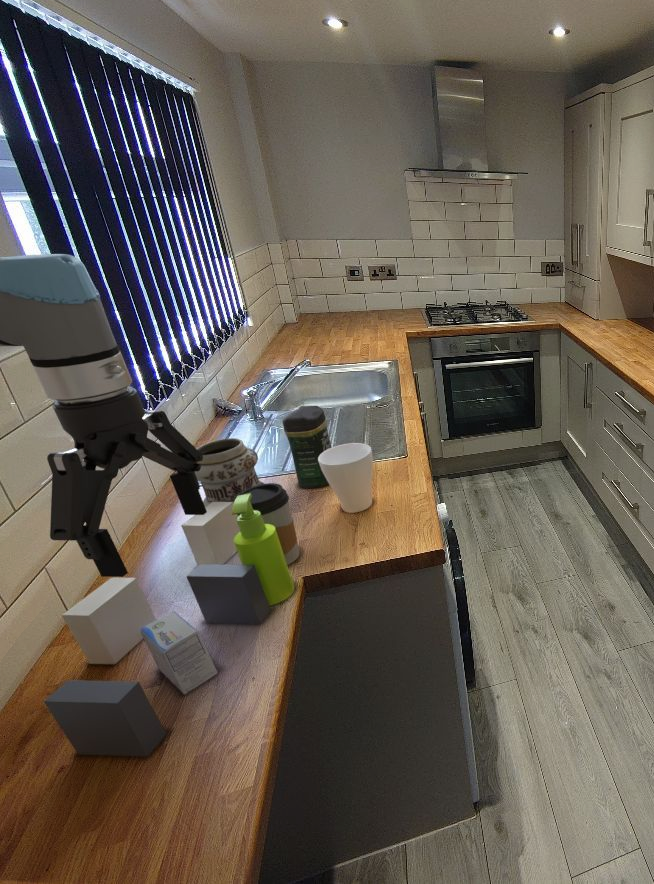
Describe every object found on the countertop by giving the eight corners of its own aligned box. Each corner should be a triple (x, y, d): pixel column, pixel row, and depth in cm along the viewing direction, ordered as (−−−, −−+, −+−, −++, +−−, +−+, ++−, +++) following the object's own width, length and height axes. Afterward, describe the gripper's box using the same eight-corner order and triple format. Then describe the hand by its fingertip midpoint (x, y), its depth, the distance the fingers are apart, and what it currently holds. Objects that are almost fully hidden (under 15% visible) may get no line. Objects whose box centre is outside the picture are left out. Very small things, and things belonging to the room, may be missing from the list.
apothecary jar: (243, 503, 119) (218, 431, 112) (289, 509, 117) (267, 435, 109) (196, 534, 108) (165, 457, 101) (246, 541, 106) (217, 462, 98)
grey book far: (206, 625, 85) (185, 576, 81) (219, 611, 88) (200, 563, 84) (260, 626, 85) (242, 577, 81) (271, 612, 88) (254, 564, 83)
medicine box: (219, 675, 76) (200, 630, 72) (184, 698, 73) (162, 652, 69) (194, 652, 80) (174, 609, 76) (160, 673, 77) (137, 628, 73)
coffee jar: (330, 489, 125) (311, 417, 117) (295, 491, 124) (273, 419, 116) (343, 469, 133) (327, 401, 126) (311, 471, 133) (292, 403, 125)
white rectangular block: (90, 666, 78) (61, 615, 74) (136, 626, 85) (111, 577, 81) (116, 667, 78) (88, 615, 74) (159, 626, 85) (136, 577, 81)
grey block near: (79, 757, 65) (43, 701, 61) (101, 734, 68) (67, 679, 64) (149, 759, 65) (117, 703, 61) (168, 736, 68) (139, 681, 63)
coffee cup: (298, 542, 105) (278, 477, 99) (312, 560, 100) (292, 493, 94) (251, 561, 100) (227, 493, 94) (263, 581, 95) (238, 511, 88)
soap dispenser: (253, 616, 87) (214, 514, 79) (259, 590, 93) (224, 492, 84) (293, 606, 89) (259, 505, 81) (296, 581, 95) (265, 485, 86)
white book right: (199, 570, 98) (180, 525, 94) (228, 544, 105) (212, 501, 101) (220, 570, 98) (202, 525, 94) (247, 544, 105) (232, 501, 101)
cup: (384, 492, 123) (373, 440, 117) (381, 515, 114) (369, 460, 108) (335, 499, 120) (321, 446, 115) (329, 524, 111) (313, 468, 105)
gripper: (13, 437, 50) (103, 608, 59) (201, 362, 73) (246, 493, 82) (-62, 437, 50) (39, 607, 59) (149, 362, 73) (199, 493, 82)
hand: (159, 541), depth 71 cm, fingers open, 13 cm apart
